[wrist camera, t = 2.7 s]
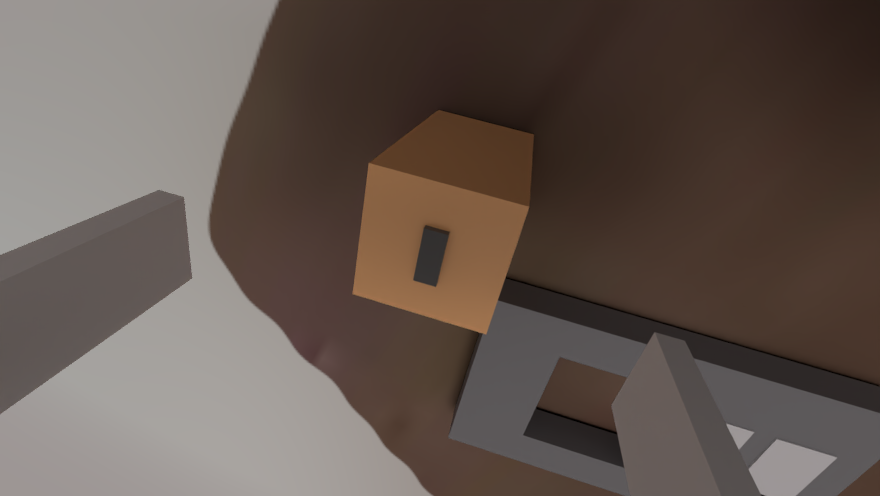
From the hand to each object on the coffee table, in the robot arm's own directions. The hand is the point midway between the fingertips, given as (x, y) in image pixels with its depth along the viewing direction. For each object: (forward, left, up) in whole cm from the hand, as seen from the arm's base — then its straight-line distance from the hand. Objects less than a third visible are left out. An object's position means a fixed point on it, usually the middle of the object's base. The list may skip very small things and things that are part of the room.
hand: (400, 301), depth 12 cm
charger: (0, 0, -13) cm, 13 cm away
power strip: (+12, +14, -13) cm, 22 cm away
